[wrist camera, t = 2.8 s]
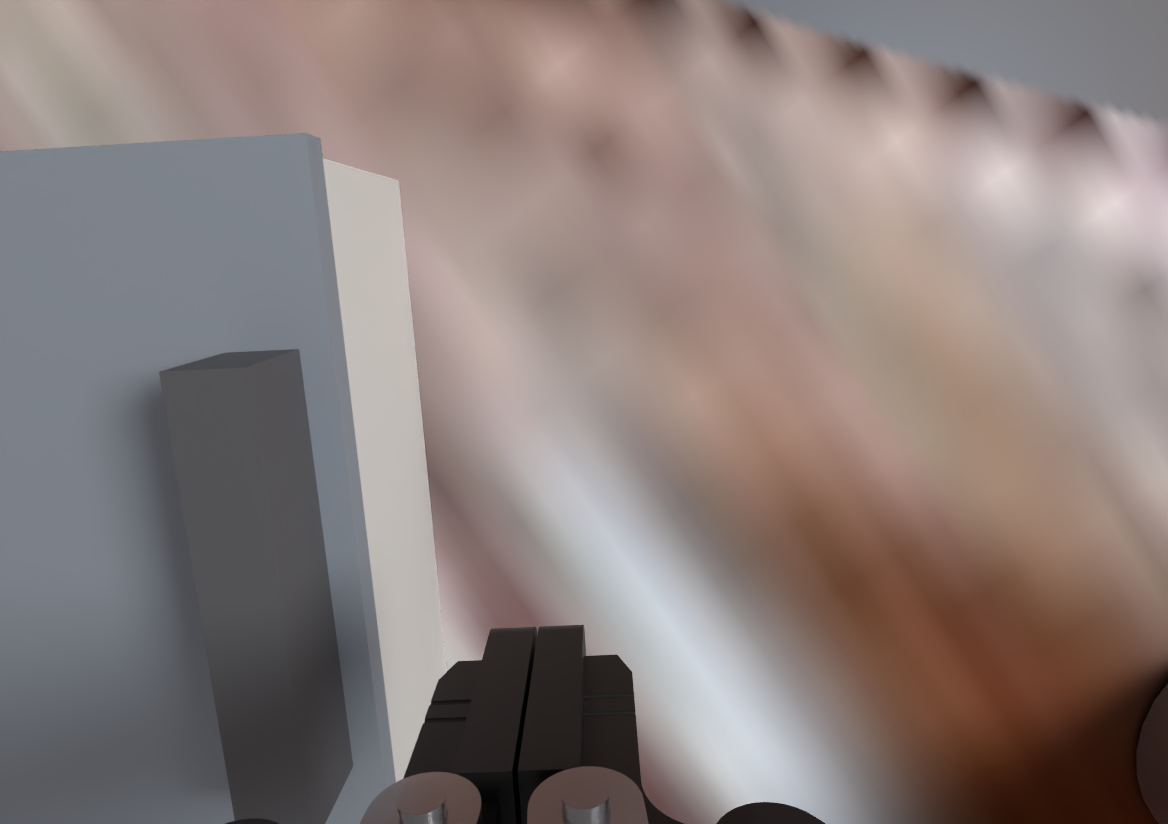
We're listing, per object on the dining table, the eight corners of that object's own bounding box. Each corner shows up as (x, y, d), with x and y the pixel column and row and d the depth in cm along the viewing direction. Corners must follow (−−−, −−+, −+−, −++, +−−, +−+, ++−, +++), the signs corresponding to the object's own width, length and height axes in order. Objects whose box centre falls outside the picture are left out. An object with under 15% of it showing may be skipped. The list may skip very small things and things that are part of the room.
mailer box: (398, 180, 24) (313, 155, 17) (451, 715, 27) (399, 872, 21) (-236, 217, 24) (-565, 207, 18) (-100, 731, 28) (-327, 887, 21)
